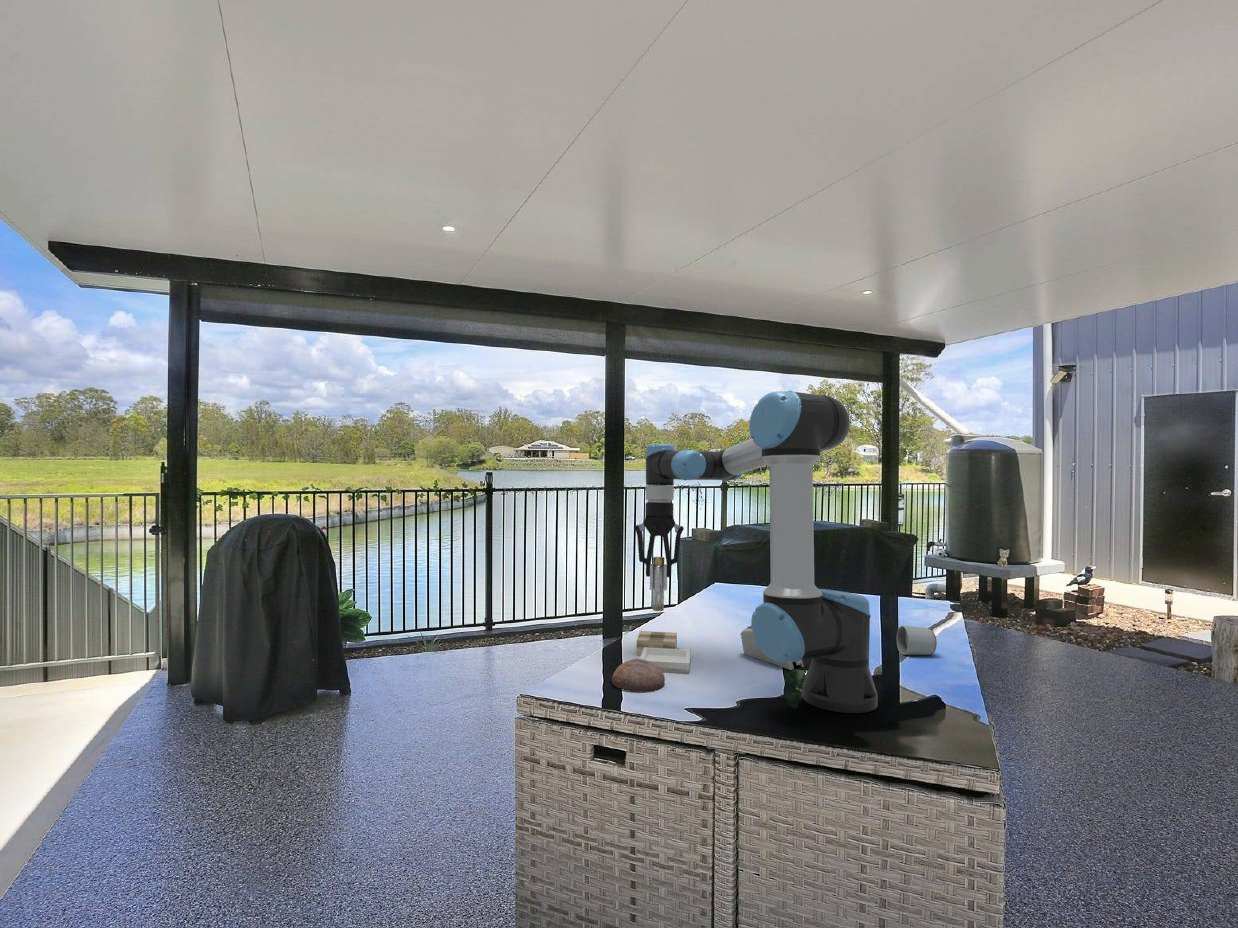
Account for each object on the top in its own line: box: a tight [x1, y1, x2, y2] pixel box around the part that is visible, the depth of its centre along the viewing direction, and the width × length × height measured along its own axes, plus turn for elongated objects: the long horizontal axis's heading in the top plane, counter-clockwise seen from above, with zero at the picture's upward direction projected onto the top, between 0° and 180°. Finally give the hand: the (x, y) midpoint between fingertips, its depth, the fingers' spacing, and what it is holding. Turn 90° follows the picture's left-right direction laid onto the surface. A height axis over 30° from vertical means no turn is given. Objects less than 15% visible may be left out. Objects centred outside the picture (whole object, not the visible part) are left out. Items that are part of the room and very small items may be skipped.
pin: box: [652, 556, 665, 612], centre depth 175 cm, size 3×3×14 cm
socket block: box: [636, 630, 678, 657], centre depth 175 cm, size 10×10×4 cm
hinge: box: [740, 625, 805, 671], centre depth 168 cm, size 17×5×10 cm, turn 33°
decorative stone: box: [611, 657, 666, 693], centre depth 148 cm, size 12×12×6 cm
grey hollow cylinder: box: [896, 625, 938, 656], centre depth 178 cm, size 11×8×8 cm
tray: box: [639, 647, 691, 675], centre depth 163 cm, size 12×12×2 cm
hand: (658, 589), depth 175 cm, fingers closed on pin, 3 cm apart
